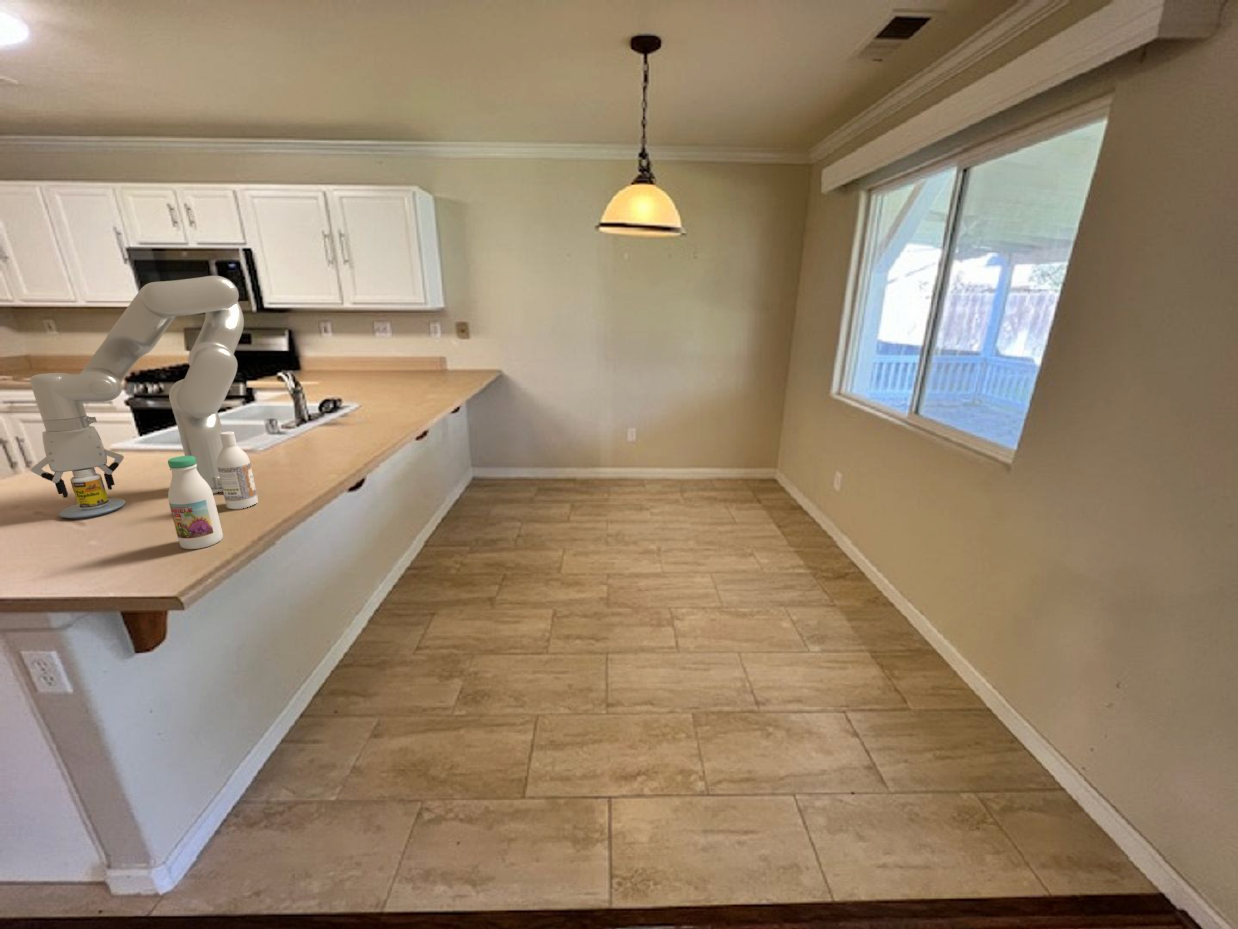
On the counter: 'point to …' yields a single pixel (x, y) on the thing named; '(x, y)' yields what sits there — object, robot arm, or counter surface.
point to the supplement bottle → (89, 489)
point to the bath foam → (235, 474)
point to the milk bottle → (192, 505)
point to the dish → (92, 510)
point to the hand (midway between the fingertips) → (88, 491)
